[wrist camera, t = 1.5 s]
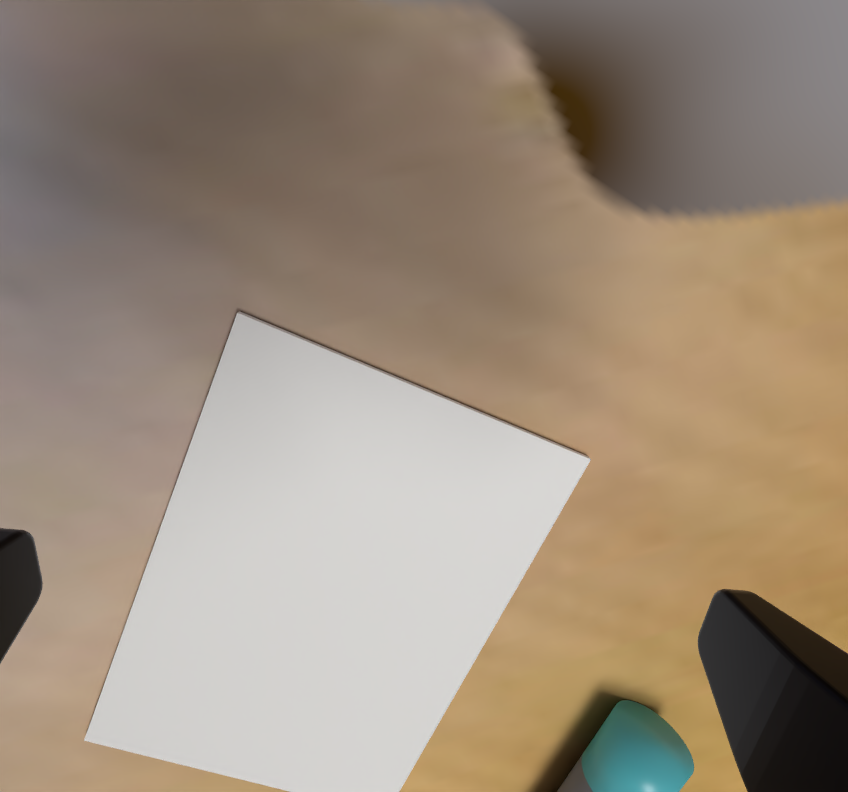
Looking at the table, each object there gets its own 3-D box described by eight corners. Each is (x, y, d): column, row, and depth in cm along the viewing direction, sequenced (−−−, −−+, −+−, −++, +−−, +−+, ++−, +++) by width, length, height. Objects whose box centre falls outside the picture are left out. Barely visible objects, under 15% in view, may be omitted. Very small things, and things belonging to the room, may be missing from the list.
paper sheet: (385, 808, 26) (385, 815, 26) (87, 734, 23) (84, 740, 23) (587, 456, 21) (590, 459, 21) (239, 311, 18) (237, 312, 18)
